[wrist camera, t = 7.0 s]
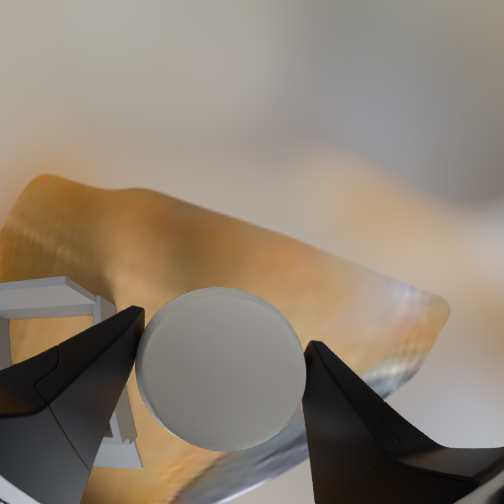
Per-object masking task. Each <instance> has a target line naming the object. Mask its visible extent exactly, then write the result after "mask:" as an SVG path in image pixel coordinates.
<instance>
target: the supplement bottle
mask: <svg viewBox="0 0 504 504" xmlns="http://www.w3.org/2000/svg"><path fill="white" fill-rule="evenodd" d="M135 372H136V380H137V385H138V389H139V392H140V395H141V397H142V399H143V402H144V404H145V405H146V407H147V409H148V410H149V412H150V413H151V415H152V416H153V417H154V418H155V420H156V421H157V422H158V423H159V424H160V425H161V426H162V427H163V428H164V429H166V430H167V431H168V432H170V433H171V434H173V435H174V436H176V437H177V438H179V439H181V440H183V441H185V442H187V443H190V444H192V445H194V446H197V447H200V448H204V449H208V450H214V451H237V450H243V449H248V448H251V447H254V446H257V445H259V444H261V443H263V442H265V441H267V440H269V439H270V438H272V437H273V436H275V435H276V434H277V433H279V432H280V431H281V430H282V429H283V428H284V427H285V426H286V425H287V424H288V423H289V422H290V420H291V419H292V417H293V416H294V415H295V413H296V411H297V409H298V407H299V405H300V403H301V401H302V398H303V394H304V390H305V385H306V364H305V359H304V354H303V350H302V346H301V344H300V341H299V339H298V336H297V334H296V332H295V330H294V329H293V327H292V326H291V324H290V323H289V321H288V320H287V319H286V318H285V317H284V315H283V314H282V313H281V312H280V311H279V310H277V309H276V308H275V307H274V306H273V305H271V304H270V303H268V302H267V301H265V300H264V299H262V298H260V297H258V296H256V295H254V294H251V293H249V292H246V291H243V290H239V289H235V288H228V287H209V288H202V289H197V290H193V291H190V292H188V293H185V294H183V295H180V296H178V297H177V298H175V299H173V300H172V301H170V302H168V303H167V304H166V305H165V306H163V307H162V308H161V309H160V310H159V311H158V312H157V313H156V314H155V315H154V316H153V318H152V319H151V320H150V322H149V323H148V325H147V326H146V328H145V330H144V332H143V334H142V336H141V338H140V341H139V344H138V348H137V353H136V360H135Z"/></svg>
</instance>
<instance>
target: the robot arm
mask: <svg viewBox="0 0 504 504" xmlns="http://www.w3.org/2000/svg"><path fill="white" fill-rule="evenodd" d="M144 327H145V310H144V308H142V307H138V306H134V305H133V306H130V307H128V308H127V309H125V310H123V311H121V312H119V313H117V314H115V315H113V316H111V317H109V318H107V319H105V320H104V321H102V322H100V323H98V324H96V325H94V326H92V327H90V328H88V329H86V330H84V331H83V332H81V333H79V334H77V335H75V336H73V337H71V338H69V339H67V340H66V341H64V342H62V343H60V344H58V346H57V345H56V346H54V347H52V348H50V349H48V350H46V351H44V352H42V353H40V354H38V355H36V356H34V357H32V358H29V359H27V360H25V361H22V362H20V363H17V364H15V365H12V366H10V367H7V368H5V369H2V370H0V504H80V502H81V499H82V496H83V493H84V490H85V487H86V484H87V481H88V478H89V475H90V471H91V469H92V466H93V464H94V461H95V458H96V455H97V453H98V450H99V447H100V445H101V442H102V440H103V437H104V435H105V432H106V430H107V427H108V425H109V422H110V420H111V417H112V415H113V412H114V410H115V408H116V405H117V403H118V401H119V398H120V396H121V394H122V391H123V389H124V387H125V385H126V382H127V380H128V378H129V376H130V373H131V371H132V368H133V365H134V362H135V358H136V353H137V348H138V344H139V341H140V338H141V336H142V334H143V332H144ZM304 359H305V364H306V385H305V390H304V394H303V398H302V405H303V412H304V419H305V427H306V434H307V442H308V449H309V457H310V465H311V474H312V482H313V491H314V499H315V503H316V504H504V447H499V448H476V449H475V448H473V449H472V448H471V449H470V448H449V447H445V446H442V445H439V444H438V443H436V442H434V441H433V440H432V439H430V438H429V437H428V436H426V435H425V434H424V433H422V432H421V431H420V430H418V429H417V428H416V427H414V426H413V425H412V424H410V423H409V422H408V421H407V420H406V419H404V418H403V417H402V416H401V415H399V414H398V413H397V412H396V411H395V410H394V409H393V408H391V406H389V405H388V404H387V403H386V402H384V400H383V399H382V398H381V397H380V396H379V395H378V394H377V393H376V392H374V391H373V390H372V389H371V388H370V387H369V386H368V385H367V384H366V383H365V382H364V381H363V380H362V379H361V378H360V377H359V376H358V375H356V374H355V373H354V372H353V371H352V370H351V369H350V368H349V367H348V366H347V365H346V364H345V363H344V362H343V361H342V360H341V359H340V358H339V357H338V356H337V355H335V354H334V353H333V352H332V351H331V350H330V349H329V348H328V347H327V346H326V345H325V344H324V343H323V342H321V341H314V340H312V341H310V342H309V343H308V345H307V348H306V350H305V352H304Z"/></svg>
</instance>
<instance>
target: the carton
mask: <svg viewBox="0 0 504 504" xmlns="http://www.w3.org/2000/svg"><path fill="white" fill-rule="evenodd" d="M115 314H117V312H116V305H114V304H112V303H111V302H109V301H108V300H106V299H105V298H103V297H102V296H100V295H97V296H95V295H93V294H92V293H90V292H89V291H87V290H86V289H84V288H83V287H81V286H80V285H78V284H77V283H75V282H74V281H72V280H71V279H70V278H68V277H67V276H57V277H49V278H40V279H31V280H22V281H14V282H5V283H0V370H2V369H5V368H7V367H10V366H12V365H11V355H10V342H9V319H32V318H53V317H70V316H84V315H93V317H94V325H96V324H98V323H100V322H102V321H104V320H105V319H107V318H109V317H111V316H113V315H115ZM110 426H111V430H106V432H105V435H104V437H103V440H102V442H101V445H100V447H99V450H98V453H97V455H96V458H95V461H94V464H93V466H98V467H111V468H137V469H142V468H143V465H142V462H141V459H140V456H139V452H138V449H137V445H136V442H135V439H136V438H137V433H136V429H135V425H134V421H133V417H132V412H131V408H130V403H129V398H128V393H127V388H126V385H125V387H124V389H123V391H122V394H121V396H120V398H119V401H118V403H117V405H116V408H115V410H114V412H113V415H112V417H111V420H110Z"/></svg>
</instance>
